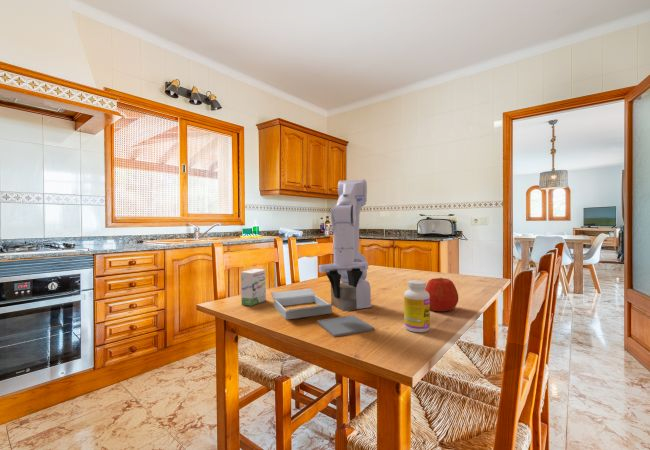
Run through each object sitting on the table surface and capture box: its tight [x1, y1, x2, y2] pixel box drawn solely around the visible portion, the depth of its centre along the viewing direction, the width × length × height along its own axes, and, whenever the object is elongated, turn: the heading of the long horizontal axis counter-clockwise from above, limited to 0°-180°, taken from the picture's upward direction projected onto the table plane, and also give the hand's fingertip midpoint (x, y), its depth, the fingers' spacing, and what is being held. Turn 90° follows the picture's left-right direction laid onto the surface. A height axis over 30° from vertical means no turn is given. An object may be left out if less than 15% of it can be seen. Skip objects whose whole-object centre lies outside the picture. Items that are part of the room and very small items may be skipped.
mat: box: [316, 314, 375, 338], centre depth 85 cm, size 12×12×1 cm
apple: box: [425, 277, 459, 312], centre depth 100 cm, size 11×11×11 cm
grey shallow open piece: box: [270, 288, 334, 321], centre depth 101 cm, size 15×23×4 cm, turn 23°
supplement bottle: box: [403, 279, 431, 333], centre depth 82 cm, size 7×7×13 cm
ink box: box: [240, 268, 267, 307], centre depth 111 cm, size 8×5×12 cm, turn 154°
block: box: [330, 282, 358, 312], centre depth 86 cm, size 4×8×6 cm, turn 23°
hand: (344, 296), depth 85 cm, fingers closed on block, 4 cm apart
